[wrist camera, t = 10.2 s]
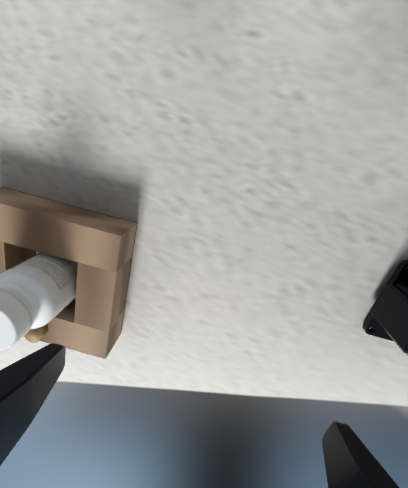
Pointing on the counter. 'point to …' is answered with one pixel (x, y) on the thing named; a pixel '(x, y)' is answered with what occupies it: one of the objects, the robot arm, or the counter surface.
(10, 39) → the counter surface
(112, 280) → the socket block
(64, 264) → the pill bottle
